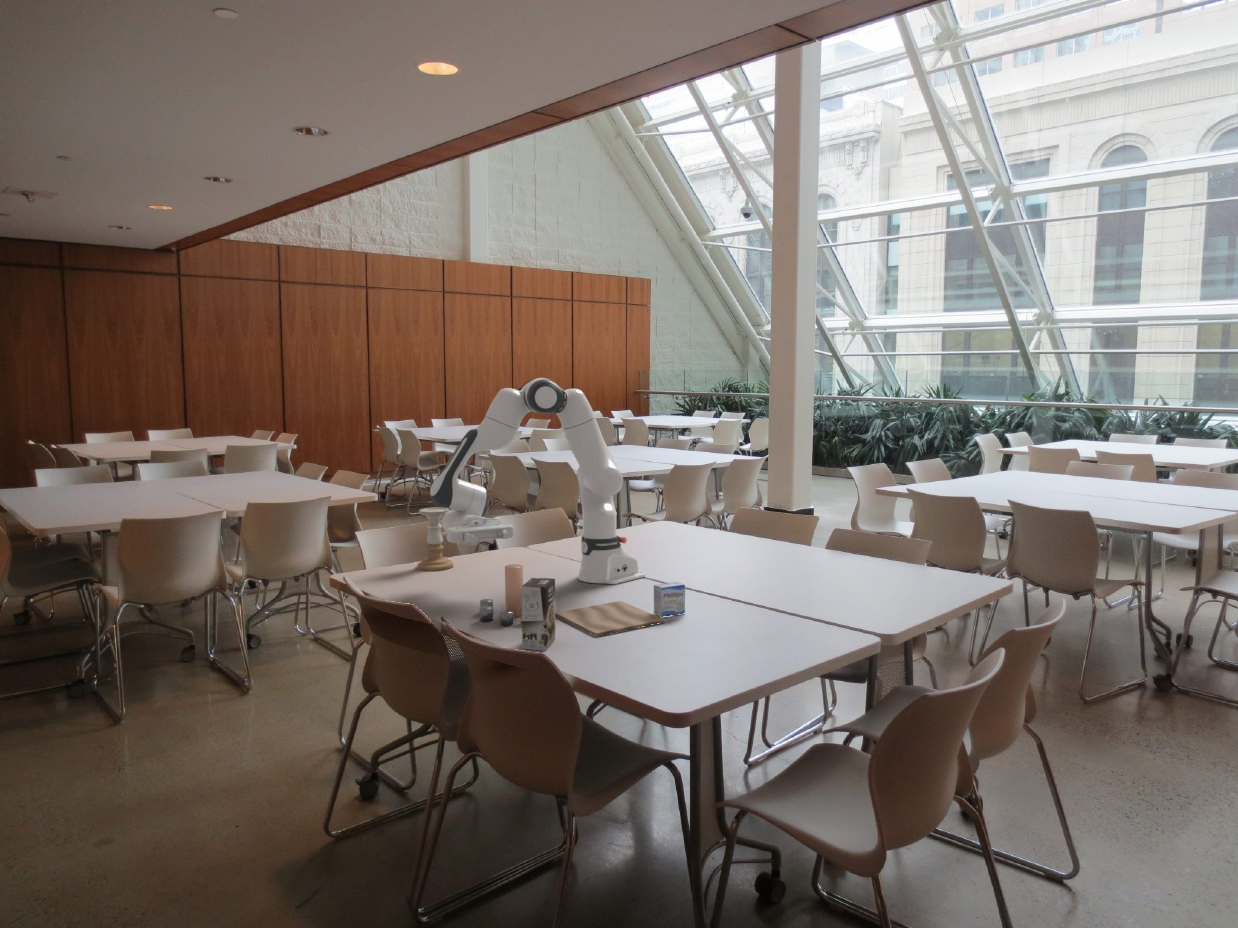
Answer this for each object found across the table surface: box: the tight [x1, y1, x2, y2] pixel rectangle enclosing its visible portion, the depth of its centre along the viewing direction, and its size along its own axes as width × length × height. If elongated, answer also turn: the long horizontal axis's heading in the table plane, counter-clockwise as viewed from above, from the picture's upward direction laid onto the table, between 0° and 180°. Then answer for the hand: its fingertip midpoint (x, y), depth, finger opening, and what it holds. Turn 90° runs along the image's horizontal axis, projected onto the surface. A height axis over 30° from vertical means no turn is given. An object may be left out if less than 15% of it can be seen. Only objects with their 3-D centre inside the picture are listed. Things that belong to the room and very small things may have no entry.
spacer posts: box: [479, 598, 515, 627], centre depth 238 cm, size 21×19×4 cm
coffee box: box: [521, 577, 556, 651], centre depth 213 cm, size 9×6×16 cm
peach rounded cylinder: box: [504, 563, 524, 619], centre depth 238 cm, size 5×5×14 cm
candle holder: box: [416, 506, 454, 572], centre depth 295 cm, size 12×12×20 cm
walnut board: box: [555, 600, 666, 637], centre depth 235 cm, size 22×22×1 cm
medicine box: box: [653, 581, 686, 618], centre depth 239 cm, size 8×4×9 cm, turn 117°
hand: (491, 537), depth 248 cm, fingers open, 8 cm apart
